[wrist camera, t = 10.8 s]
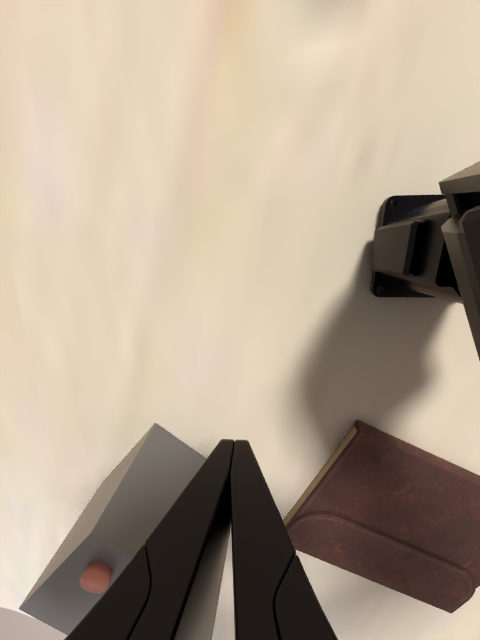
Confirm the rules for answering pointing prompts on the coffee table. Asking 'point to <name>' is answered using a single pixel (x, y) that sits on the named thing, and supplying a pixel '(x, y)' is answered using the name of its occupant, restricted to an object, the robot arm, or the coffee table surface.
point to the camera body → (112, 528)
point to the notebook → (394, 518)
